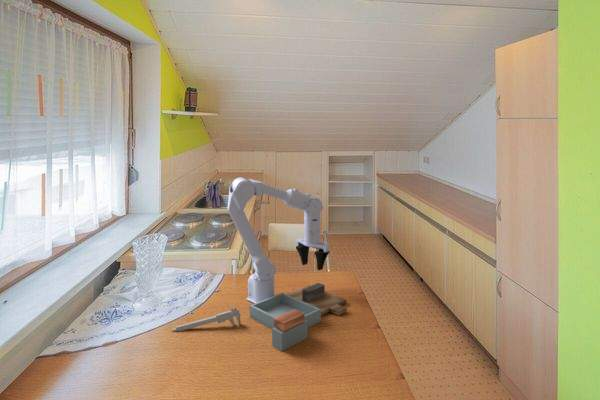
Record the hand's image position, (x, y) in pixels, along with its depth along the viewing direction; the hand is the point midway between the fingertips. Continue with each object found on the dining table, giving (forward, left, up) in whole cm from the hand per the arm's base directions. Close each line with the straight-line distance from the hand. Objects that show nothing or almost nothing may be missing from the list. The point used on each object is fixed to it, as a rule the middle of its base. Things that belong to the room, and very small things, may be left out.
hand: (312, 266), depth 143 cm
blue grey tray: (+9, -23, -10) cm, 27 cm away
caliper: (-6, -40, -11) cm, 42 cm away
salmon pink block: (+18, -28, -5) cm, 34 cm away
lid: (+7, -5, -11) cm, 14 cm away
